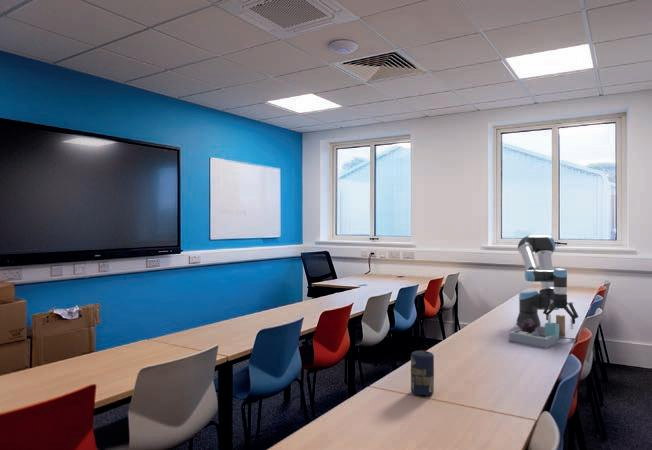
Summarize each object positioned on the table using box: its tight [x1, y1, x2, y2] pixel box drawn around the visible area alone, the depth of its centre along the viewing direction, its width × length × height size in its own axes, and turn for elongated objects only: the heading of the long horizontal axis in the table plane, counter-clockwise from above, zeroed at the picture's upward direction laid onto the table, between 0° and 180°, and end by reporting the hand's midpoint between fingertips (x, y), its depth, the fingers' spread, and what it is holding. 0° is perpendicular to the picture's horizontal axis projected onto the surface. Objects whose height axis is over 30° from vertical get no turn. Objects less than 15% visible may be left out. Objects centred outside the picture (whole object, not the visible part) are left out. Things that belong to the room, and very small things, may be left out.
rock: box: [519, 319, 537, 334], centre depth 290 cm, size 12×9×10 cm
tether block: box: [544, 314, 566, 341], centre depth 281 cm, size 19×6×12 cm, turn 133°
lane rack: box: [508, 328, 557, 349], centre depth 269 cm, size 14×22×5 cm, turn 43°
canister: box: [410, 350, 435, 396], centre depth 190 cm, size 10×10×18 cm
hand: (560, 327), depth 285 cm, fingers open, 13 cm apart
